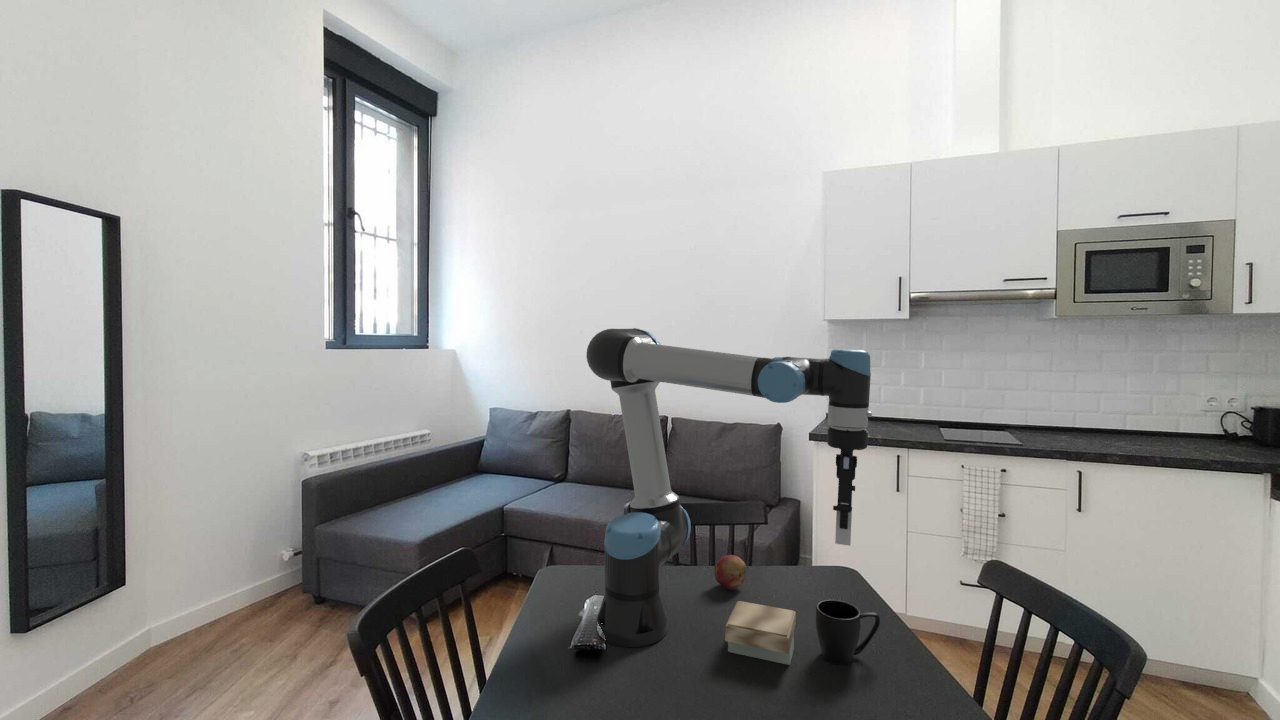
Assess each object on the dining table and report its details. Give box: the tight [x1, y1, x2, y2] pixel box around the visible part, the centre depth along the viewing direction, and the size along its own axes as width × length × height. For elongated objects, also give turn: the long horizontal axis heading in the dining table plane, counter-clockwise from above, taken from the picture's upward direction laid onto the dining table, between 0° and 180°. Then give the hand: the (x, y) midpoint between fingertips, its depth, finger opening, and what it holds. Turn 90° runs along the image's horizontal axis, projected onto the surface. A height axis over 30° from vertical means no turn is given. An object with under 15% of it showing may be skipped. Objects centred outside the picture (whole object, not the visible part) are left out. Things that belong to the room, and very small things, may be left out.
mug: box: [815, 599, 881, 665], centre depth 111 cm, size 8×12×10 cm
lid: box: [724, 600, 797, 654], centre depth 114 cm, size 12×11×3 cm
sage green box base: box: [727, 633, 795, 666], centre depth 114 cm, size 12×6×4 cm, turn 68°
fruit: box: [713, 554, 747, 590], centre depth 141 cm, size 8×8×8 cm
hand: (843, 532), depth 115 cm, fingers open, 13 cm apart
